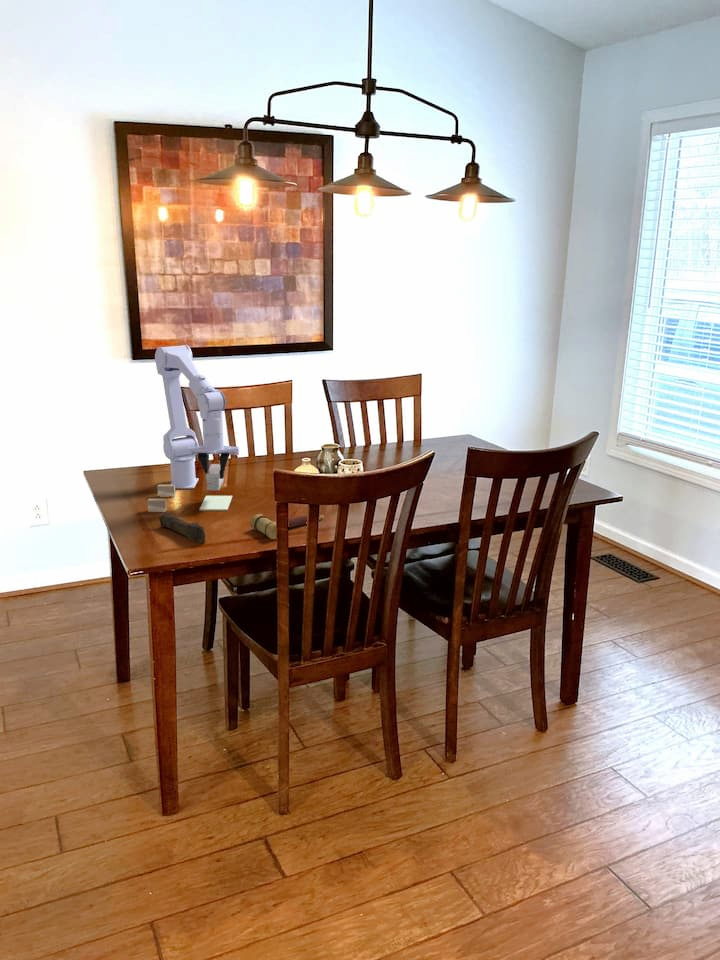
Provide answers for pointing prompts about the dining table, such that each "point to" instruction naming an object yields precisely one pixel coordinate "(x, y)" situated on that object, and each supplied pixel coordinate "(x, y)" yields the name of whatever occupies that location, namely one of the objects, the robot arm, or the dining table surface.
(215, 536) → the dining table surface
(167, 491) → the blocks
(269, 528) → the gavel
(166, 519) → the hand tool
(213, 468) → the steel bar
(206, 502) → the mat
